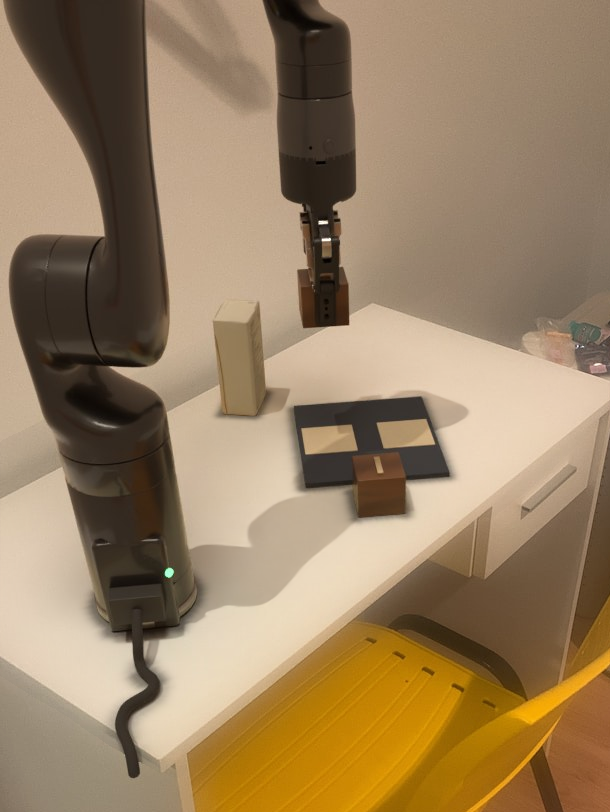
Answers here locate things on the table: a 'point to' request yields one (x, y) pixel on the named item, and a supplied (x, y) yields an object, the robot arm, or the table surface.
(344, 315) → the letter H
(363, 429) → the word mat
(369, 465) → the brown letter i block
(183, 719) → the table surface
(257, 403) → the cosmetic box
